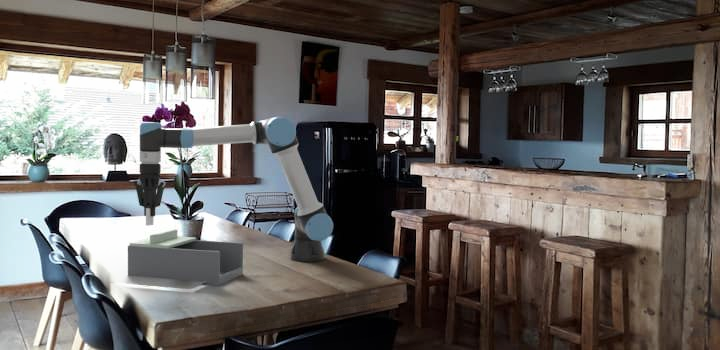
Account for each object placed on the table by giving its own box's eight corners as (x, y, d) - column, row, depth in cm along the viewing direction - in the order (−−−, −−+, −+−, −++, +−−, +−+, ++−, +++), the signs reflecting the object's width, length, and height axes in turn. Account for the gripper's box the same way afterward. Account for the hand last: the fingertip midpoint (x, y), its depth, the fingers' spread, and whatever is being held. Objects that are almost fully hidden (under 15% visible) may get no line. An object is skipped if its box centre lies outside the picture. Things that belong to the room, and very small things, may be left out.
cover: (196, 240, 231) (196, 230, 231) (168, 248, 212) (168, 237, 212) (160, 237, 235) (160, 227, 234) (129, 245, 216) (129, 235, 215)
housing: (242, 274, 227) (243, 243, 226) (218, 285, 208) (218, 251, 207) (158, 267, 235) (158, 237, 235) (127, 278, 216) (127, 245, 216)
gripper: (128, 162, 221) (128, 225, 222) (159, 163, 218) (159, 227, 219) (140, 162, 228) (140, 222, 229) (171, 163, 225) (170, 224, 226)
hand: (149, 224), depth 224 cm, fingers closed
